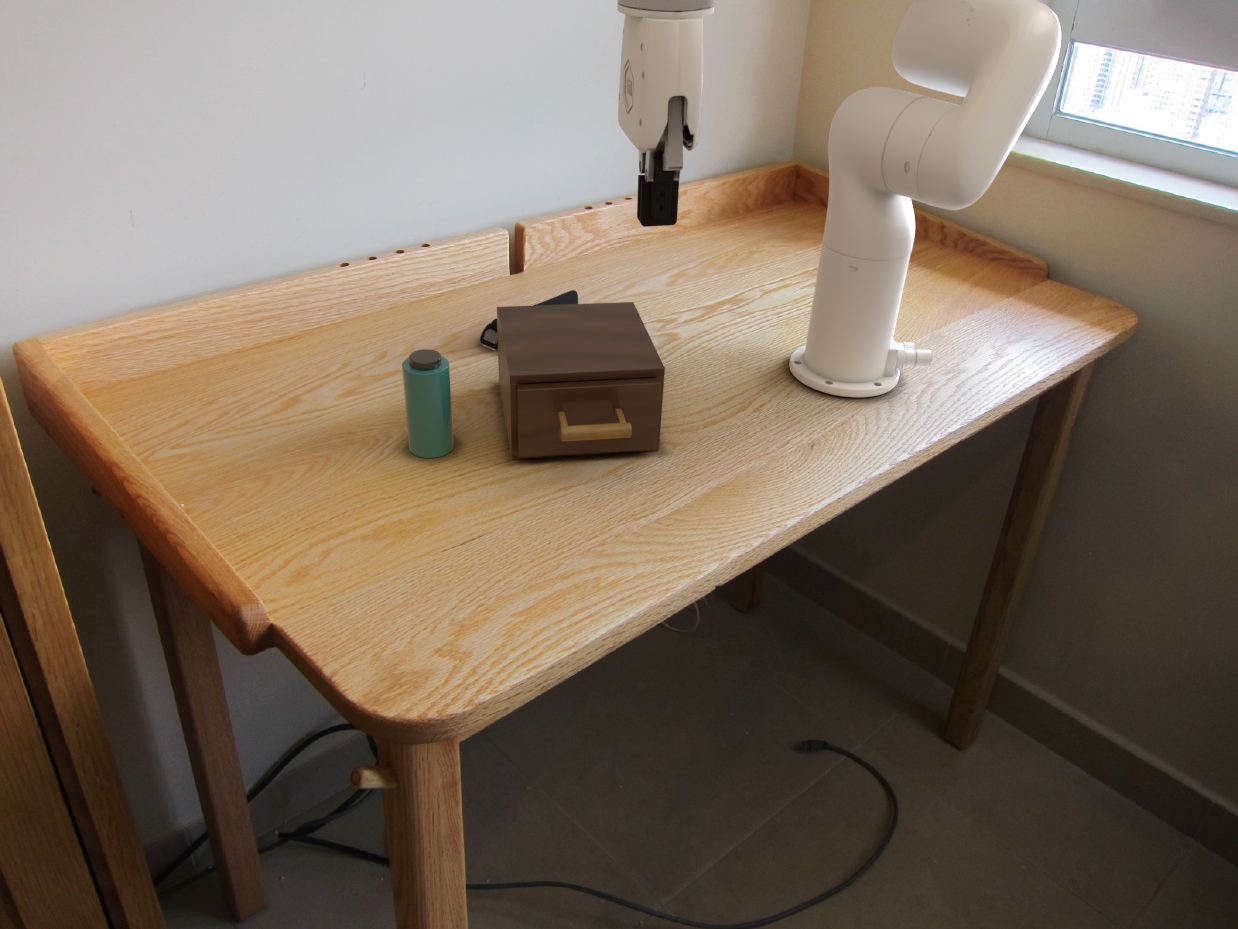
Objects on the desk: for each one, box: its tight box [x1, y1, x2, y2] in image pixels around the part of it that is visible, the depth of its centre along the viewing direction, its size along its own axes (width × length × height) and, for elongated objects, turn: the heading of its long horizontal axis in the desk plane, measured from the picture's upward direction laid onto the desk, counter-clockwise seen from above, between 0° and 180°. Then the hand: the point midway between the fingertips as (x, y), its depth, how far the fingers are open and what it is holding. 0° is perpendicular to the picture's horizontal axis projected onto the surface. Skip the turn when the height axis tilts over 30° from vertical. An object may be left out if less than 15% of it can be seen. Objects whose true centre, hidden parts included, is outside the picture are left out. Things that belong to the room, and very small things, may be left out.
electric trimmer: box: [479, 289, 579, 352], centre depth 121 cm, size 4×16×3 cm, turn 141°
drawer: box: [517, 377, 661, 458], centre depth 98 cm, size 19×14×7 cm
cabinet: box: [496, 301, 666, 460], centre depth 101 cm, size 16×15×9 cm
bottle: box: [401, 348, 455, 459], centre depth 95 cm, size 4×4×10 cm
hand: (656, 222), depth 85 cm, fingers closed
